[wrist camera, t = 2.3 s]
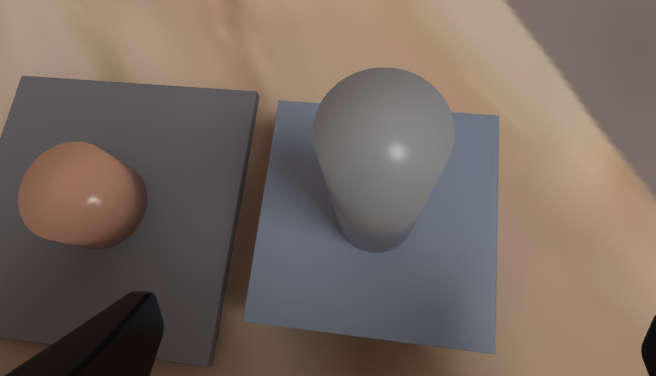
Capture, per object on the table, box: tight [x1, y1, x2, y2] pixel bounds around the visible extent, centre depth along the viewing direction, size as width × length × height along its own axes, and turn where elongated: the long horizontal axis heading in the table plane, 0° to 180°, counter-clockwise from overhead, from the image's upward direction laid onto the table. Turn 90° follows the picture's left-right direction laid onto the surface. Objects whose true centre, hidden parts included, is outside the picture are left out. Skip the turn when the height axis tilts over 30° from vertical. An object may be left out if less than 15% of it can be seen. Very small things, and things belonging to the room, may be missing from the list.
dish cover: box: [243, 68, 499, 354], centre depth 13 cm, size 8×8×11 cm
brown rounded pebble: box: [18, 142, 147, 249], centre depth 18 cm, size 4×4×2 cm
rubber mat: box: [0, 76, 259, 367], centre depth 20 cm, size 12×12×1 cm
